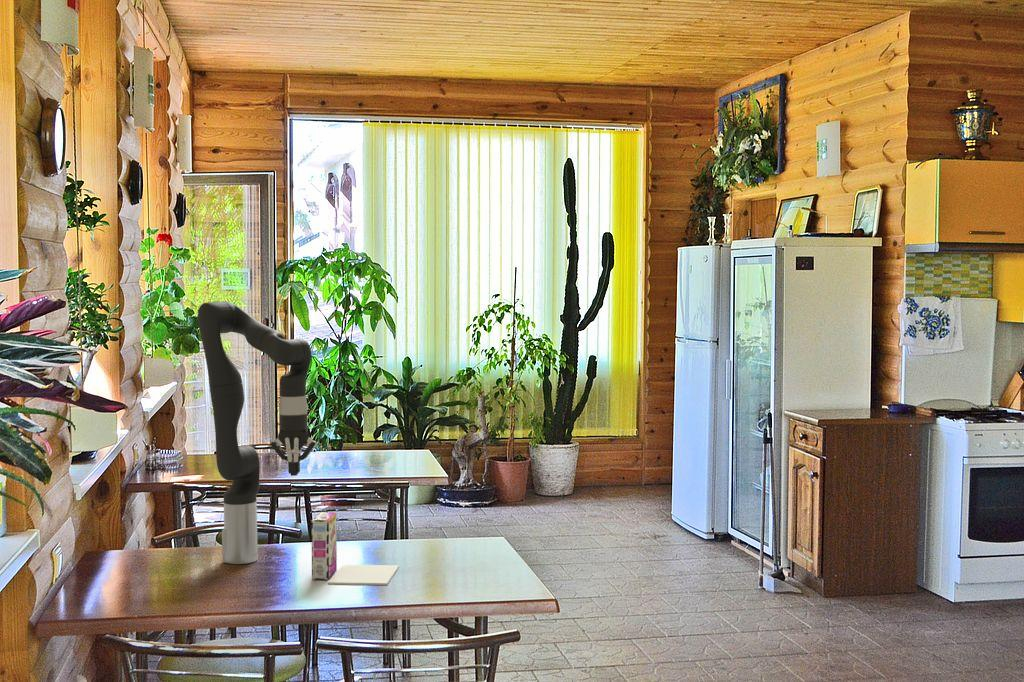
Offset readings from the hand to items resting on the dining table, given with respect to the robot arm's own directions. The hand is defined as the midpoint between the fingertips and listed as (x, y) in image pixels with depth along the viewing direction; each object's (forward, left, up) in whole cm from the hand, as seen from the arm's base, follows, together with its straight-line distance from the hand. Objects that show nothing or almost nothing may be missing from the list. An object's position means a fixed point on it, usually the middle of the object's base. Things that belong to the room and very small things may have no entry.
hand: (294, 475), depth 296 cm
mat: (+19, 0, -28) cm, 34 cm away
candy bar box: (+8, 0, -28) cm, 29 cm away
